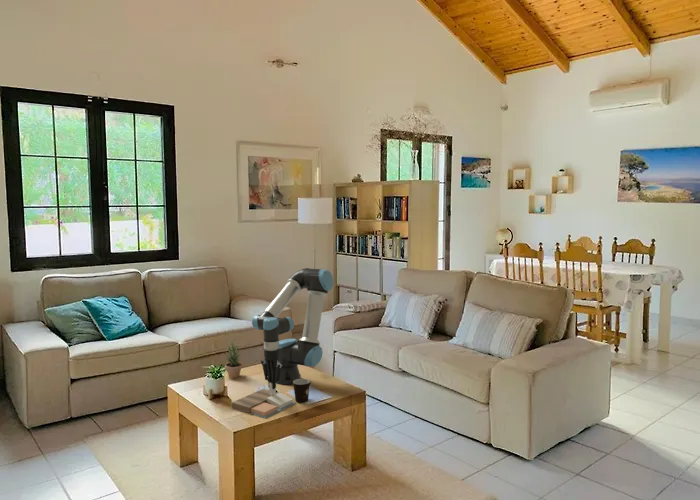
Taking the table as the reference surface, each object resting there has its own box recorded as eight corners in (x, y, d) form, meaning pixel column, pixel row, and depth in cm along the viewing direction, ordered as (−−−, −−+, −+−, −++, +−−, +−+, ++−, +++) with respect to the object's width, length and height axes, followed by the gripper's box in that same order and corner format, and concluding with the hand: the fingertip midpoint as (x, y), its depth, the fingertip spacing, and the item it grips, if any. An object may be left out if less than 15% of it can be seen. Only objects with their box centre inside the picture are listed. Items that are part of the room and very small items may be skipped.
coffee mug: (298, 405, 271) (298, 385, 270) (290, 400, 278) (289, 381, 277) (318, 399, 278) (318, 380, 277) (309, 394, 285) (309, 376, 284)
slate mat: (281, 399, 279) (281, 398, 279) (296, 403, 273) (296, 402, 273) (250, 413, 261) (250, 413, 261) (265, 418, 255) (265, 417, 255)
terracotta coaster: (264, 406, 269) (263, 402, 269) (277, 410, 264) (277, 406, 264) (250, 412, 262) (250, 408, 261) (264, 416, 256) (264, 412, 256)
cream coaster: (279, 395, 278) (279, 392, 277) (292, 402, 273) (292, 399, 272) (266, 401, 270) (267, 397, 270) (280, 408, 265) (280, 405, 265)
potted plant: (233, 380, 308) (231, 337, 305) (222, 377, 314) (220, 335, 311) (246, 375, 316) (245, 334, 313) (235, 372, 322) (234, 331, 319)
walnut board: (263, 394, 286) (263, 388, 285) (280, 399, 279) (280, 393, 279) (232, 408, 268) (231, 402, 267) (249, 413, 261) (249, 407, 261)
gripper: (256, 348, 272) (257, 394, 275) (275, 352, 265) (276, 399, 267) (267, 345, 278) (268, 389, 281) (286, 349, 271) (287, 394, 273)
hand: (272, 394), depth 274 cm, fingers closed
